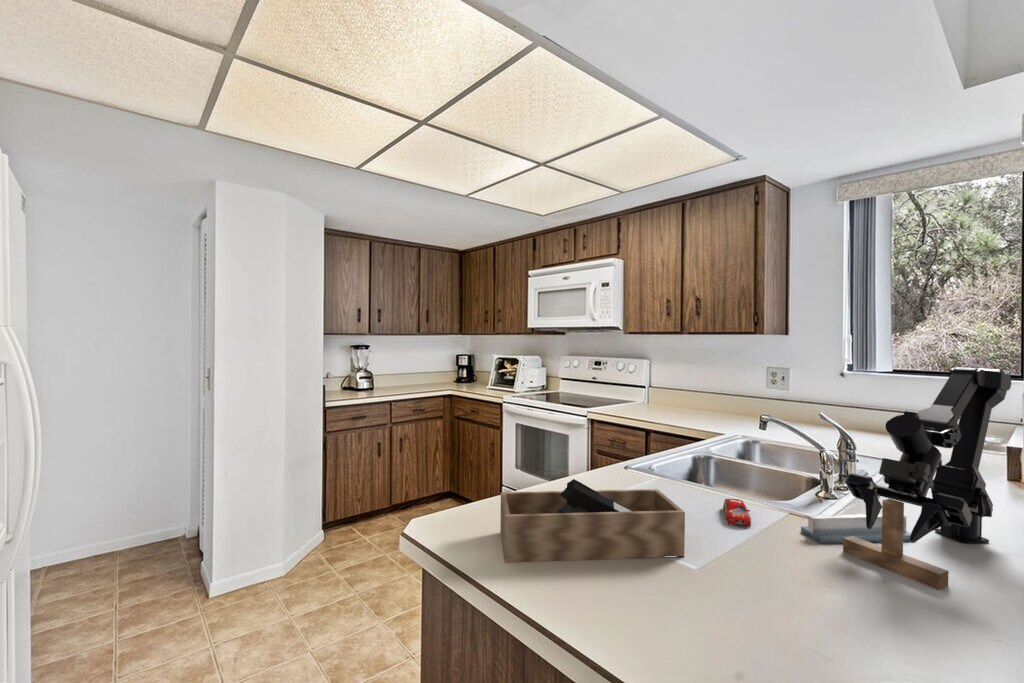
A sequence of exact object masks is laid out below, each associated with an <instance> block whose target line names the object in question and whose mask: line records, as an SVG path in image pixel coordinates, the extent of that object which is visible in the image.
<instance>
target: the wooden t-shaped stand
mask: <svg viewBox="0 0 1024 683" xmlns="http://www.w3.org/2000/svg"><path fill="white" fill-rule="evenodd" d="M881 505H882V508H881V514H882V542H881V545H879V544H876V543H874V542H868V541H865V540H862V539H860V538H857V537H854V536H850V537H846V538H843V543H842V553H845V554H847V555H849V556H852V557H855V558H857V559H860V560H862V561H863V562H864V561H865V562H867V563H870V564H872V565H874V566H877V567H879V568H882V569H884V570H887V571H890V572H892V573H894V574H897V575H900V576H902V577H904V578H907V579H909V578H910V579H909V580H912V581H914V580H915V582H917V583H919V582H920V584H922V583H923V584H922V585H924V584H925V586H927V585H928V587H929V586H930V587H929V588H932V587H933V588H932V589H934V588H935V589H934V590H937V591H941V589H942V590H944V589H946V588H945V587H947V588H949V574H950V573H949V572H950V571H949V570H947V569H944V568H942V567H939V566H936V565H935V564H930V563H928V562H926V561H922V560H920V559H917V558H914V557H911V556H909V555H907V554H906V555H905V554H904V541H903V527H904V515H905V502H901V501H897V500H894V499H890V498H887V499H883V500H882V502H881ZM943 588H944V589H943Z"/></svg>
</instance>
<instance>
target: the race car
mask: <svg viewBox="0 0 1024 683" xmlns="http://www.w3.org/2000/svg"><path fill="white" fill-rule="evenodd" d="M723 501H724V502H723V506H722V507H723V508H722V509H724V511H723V513H724V517H725V520H726V523H728V524H727V525H732V526H737V527H742V528H743V527H745V528H746V527H747V528H749V526H751V527H752V519H751V516H750V513H749V512H751V510H750V509H748V508H747V506H746V504H745V502H744V501H743V500H741V499H738V498H725V499H724V500H723Z"/></svg>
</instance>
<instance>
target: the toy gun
mask: <svg viewBox="0 0 1024 683" xmlns="http://www.w3.org/2000/svg"><path fill="white" fill-rule="evenodd" d="M562 491H563V492H562V493H561V494H560V495H561V496H562V497H563V498H564V499H566V500H567V503H566V504H565V505H564V506H563V507H562V508H561V509H560V510H559V511H558V512H557V513H591V512H633V510H631V509H629V508H627V507H625V506H623V505H621V504H619V503H617V502H615V501H613V500H610V499H608V498H606V497H604V496H602V495H600V494H599V493H598V492H596V491H595V489H592V488H591V487H589V486H587V485H586V484H584V483H583V482H580V481H578V480H576V479H574V478H573V479H572V480H570V481H568V482H566V488H564V489H563V490H562Z"/></svg>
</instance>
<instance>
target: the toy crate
mask: <svg viewBox="0 0 1024 683" xmlns="http://www.w3.org/2000/svg"><path fill="white" fill-rule="evenodd" d="M594 490H595V489H594ZM563 491H564V490H557V491H555V490H554V491H553V490H550V491H507V492H506V491H505V492H504V491H502V492H500V522H499V523H500V527H499V528H500V532H499V533H500V539H501V546H502V553H503V560H504V564H507V563H508V564H509V563H534V562H535V563H536V562H538V563H541V562H564V561H565V562H567V561H569V562H570V561H597V560H598V559H599V560H602V559H603V560H604V559H605V560H626V559H625V558H636V559H653V558H652V557H665V556H684V557H685V545H686V544H685V540H686V538H685V533H686V532H685V530H686V527H685V526H686V511H684V510H683V509H682V508H680V506H678V505H677V504H676V503H674V501H672V500H671V499H670V498H669V497H668V496H667V495H665V494H664V493H663V492H661V491H660V490H659V489H656V488H653V489H651V488H650V489H646V488H645V489H609V490H608V489H605V490H603V489H602V490H601V489H599V490H595V491H596V492H598V493H599V494H600V495H602V496H604V497H606V498H608V499H610V500H613V501H615V502H617V503H619V504H621V505H623V506H625V507H627V508H629V509H631V510H633V512H591V513H557V512H558V511H559V510H560V509H561V508H562V507H563V506H564V505H565V504H566V503H567V500H566V499H564V498H563V497H562V496H561V495H560V494H561V493H562V492H563ZM650 557H651V558H650ZM623 558H624V559H623ZM599 560H598V561H599ZM603 560H602V561H603Z"/></svg>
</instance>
